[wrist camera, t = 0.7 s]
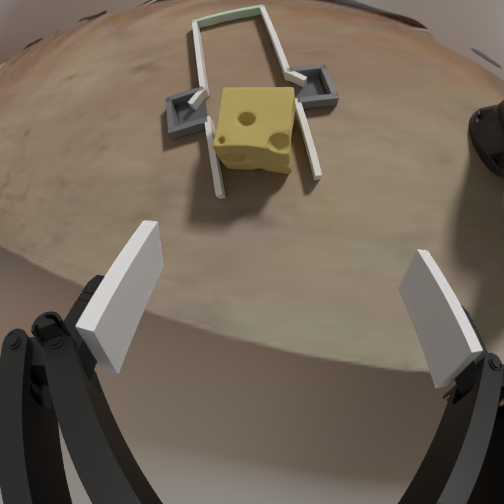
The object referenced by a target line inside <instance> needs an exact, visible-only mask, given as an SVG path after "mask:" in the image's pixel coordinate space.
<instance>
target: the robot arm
mask: <svg viewBox="0 0 504 504" xmlns="http://www.w3.org/2000/svg"><path fill="white" fill-rule="evenodd" d="M470 133H471V137H472V140H473V143H474V146H475V148H476V150H477V152H478V154H479V156H480V157H481V159H482V160H483V162H484V163H485V164H486V165H487V167H488V168H489V169H490V170H491V171H493V172H494V173H495V174H497V175H499V176H502V177H504V100H503V101H502V102H501V103H500V104H498V105H493V106H488V107H483V108H480V109H478V110H477V111H476V112H475V113H474V114H473V115H472V116H471V119H470ZM163 267H164V265H163V258H162V251H161V244H160V236H159V228H158V222H156V221H143V222H142V223H141V225H140V226H139V227H138V229H137V230H136V231H135V233H134V234H133V236H132V237H131V238H130V240H129V241H128V243H127V244H126V246H125V247H124V248H123V250H122V251H121V253H120V254H119V256H118V257H117V259H116V260H115V262H114V263H113V265H112V266H111V268H110V269H109V271H108V272H107V274H106V276H101V275H96V276H95V277H94V278H93V279H91V280H90V281H89V282H88V283H87V285H86V286H85V288H84V289H83V291H82V293H81V294H80V296H79V297H78V300H77V301H76V302H75V303H74V305H73V307H72V308H71V310H70V312H69V314H68V315H67V317H66V318H65V320H64V322H63V320H62V318H61V316H60V315H59V314H58V313H56V312H45V313H43V314H42V315H40V316H39V317H38V318H37V319H36V320H35V321H34V323H33V325H32V330H31V332H32V334H33V335H34V337H28V335H27V334H26V332H25V331H24V330H22V329H14V330H12V331H11V332H9V333H8V334H7V336H6V337H5V339H4V341H3V345H2V351H1V357H0V488H1V493H2V499H3V503H4V504H72V501H71V497H70V493H69V488H68V484H67V480H66V475H65V470H64V464H63V458H62V452H61V445H60V438H59V428H58V422H59V425H60V429H61V432H62V434H63V438H64V440H65V443H66V446H67V449H68V451H69V454H70V456H71V459H72V461H73V464H74V466H75V469H76V471H77V473H78V475H79V478H80V480H81V482H82V484H83V486H84V488H85V490H86V492H87V494H88V496H89V498H90V500H91V502H92V504H163V503H162V502H161V500H160V499H159V498H158V496H157V494H156V493H155V491H154V490H153V489H152V487H151V485H150V484H149V482H148V481H147V479H146V477H145V476H144V474H143V472H142V471H141V469H140V467H139V466H138V464H137V462H136V460H135V459H134V457H133V455H132V453H131V451H130V449H129V447H128V446H127V444H126V442H125V440H124V438H123V436H122V434H121V432H120V430H119V428H118V425H117V423H116V421H115V419H114V417H113V414H112V412H111V410H110V407H109V405H108V403H107V400H106V398H105V395H104V393H103V390H102V388H101V385H100V382H99V380H98V377H97V374H96V372H95V370H94V368H95V366H96V363H98V364H99V366H100V367H101V369H102V370H105V371H108V372H112V373H115V374H119V371H120V369H121V366H122V363H123V361H124V358H125V356H126V353H127V350H128V348H129V345H130V343H131V340H132V337H133V335H134V333H135V330H136V328H137V326H138V323H139V320H140V319H141V316H142V314H143V311H144V309H145V307H146V305H147V302H148V300H149V298H150V295H151V293H152V291H153V289H154V287H155V284H156V282H157V280H158V278H159V276H160V274H161V271H162V269H163ZM398 289H399V291H400V293H401V296H402V298H403V300H404V303H405V305H406V307H407V310H408V312H409V315H410V317H411V320H412V322H413V325H414V327H415V330H416V333H417V335H418V338H419V341H420V343H421V346H422V349H423V352H424V355H425V358H426V361H427V364H428V367H429V370H430V373H431V376H432V379H433V383H434V386H435V389H437V388H443V387H447V386H448V385H449V384H450V383H451V382H453V381H454V380H455V381H456V385H455V386H454V387H453V388H452V389H451V390H449V391H448V392H447V393H446V394H445V395H444V397H443V398H444V399H445V398H446V397H447V396H448V395H449V394H450V397H449V398H448V399H447V401H448V403H447V406H446V409H445V411H444V414H443V417H442V419H441V422H440V424H439V427H438V429H437V432H436V434H435V436H434V438H433V441H432V443H431V445H430V448H429V449H428V451H427V454H426V456H425V458H424V460H423V461H422V463H421V465H420V467H419V469H418V471H417V473H416V475H415V477H414V478H413V480H412V482H411V483H410V485H409V487H408V489H407V490H406V492H405V493H404V495H403V497H402V498H401V500H400V501H399V503H398V504H504V405H503V406H501V401H502V400H503V399H504V364H502V362H501V360H500V359H499V357H498V356H497V355H495V354H493V353H488V352H487V350H486V348H485V345H484V343H483V341H482V339H481V337H480V335H479V333H478V331H477V329H476V327H475V325H474V323H473V321H472V319H471V317H470V315H469V313H468V312H467V311H466V309H465V308H464V307H463V306H462V305H460V303H459V301H458V299H457V297H456V296H455V294H454V292H453V290H452V289H451V287H450V285H449V284H448V282H447V280H446V279H445V277H444V275H443V274H442V272H441V271H440V269H439V267H438V266H437V264H436V263H435V261H434V260H433V258H432V256H431V255H430V253H429V252H428V250H420V249H417V250H416V252H415V254H414V256H413V258H412V261H411V263H410V265H409V267H408V269H407V271H406V273H405V275H404V277H403V279H402V281H401V283H400V285H399V287H398Z"/></svg>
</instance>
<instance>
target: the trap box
mask: <svg viewBox="0 0 504 504" xmlns="http://www.w3.org/2000/svg"><path fill="white" fill-rule="evenodd" d="M257 15H261V16H262V18H263V21H264V23H265V26H266V28H267V31H268V33H269V36H270V39H271V41H272V44H273V47H274V49H275V52H276V55H277V58H278V60H279V63H280V66H281V69H282V72H283V75H284V78H285V80H287V81H290V82H291V83H292V86H293V88H294V92H295V95H296V98H295V112H296V116H297V119H298V123H299V126H300V130H301V133H302V137H303V140H304V144H305V148H306V151H307V155H308V159H309V163H310V167H311V171H312V175H313V179H314V181H315V180H320V179H321V176H322V173H321V169H320V165H319V161H318V157H317V154H316V150H315V147H314V143H313V139H312V136H311V133H310V129H309V126H308V123H307V119H306V116H305V113H304V110H303V109H310V108H318V107H326V106H335V105H337V103H338V99H339V97H338V94H337V92H336V89H335V87H334V85H333V82H332V80H331V77H330V75H329V73H328V70H327V68H326V66H325V64H319V65H308V66H300V67H292V68H289V66H288V63H287V60H286V58H285V55H284V52H283V50H282V47H281V45H280V42H279V40H278V37H277V35H276V32H275V30H274V27H273V25H272V23H271V20H270V18H269V16H268V14H267V11H266V9H265V7H264V5H258V6H251V7H246V8H241V9H235V10H231V11H226V12H222V13H218V14H214V15H210V16H206V17H202V18H199V19H195V20H192V26H193V35H194V44H195V52H196V61H197V69H198V77H199V85H200V87H198V88H194V89H191V90H188V91H185V92H182V93H178V94H175V95H172V96H170V97H167V98H166V109H167V124H168V134H169V135H170V136H171V137H172V138H173V139H175V138H179V137H182V136H185V135H189V134H192V133H195V132H199V131H203V130H206V136H207V142H208V149H209V156H210V162H211V169H212V175H213V182H214V188H215V194H216V197H218V198H219V199H224V198H226V196H225V190H224V184H223V178H222V172H221V166H220V160H219V156H218V155H217V153H216V152H215V150H214V148H213V140H214V136H215V129H214V123H213V121H212V119H211V117H210V116H208V117H207V111H206V104H205V100H206V99H207V97H209V90H208V84H207V77H206V70H205V63H204V57H203V50H202V43H201V35H200V28H203V27H206V26H210V25H214V24H218V23H222V22H226V21H231V20H235V19H240V18H245V17H251V16H257ZM318 76H320V78H321V80H322V83H323V85H324V88H325V90H326V93H327V94H325V93H324V90H323V87H322V85H321V82H320V80H319V77H318ZM176 106H178V115H179V125H178V123H177V112H176Z"/></svg>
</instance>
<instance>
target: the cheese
mask: <svg viewBox="0 0 504 504" xmlns="http://www.w3.org/2000/svg"><path fill="white" fill-rule="evenodd" d="M294 116H295V94H294V88H293V87H274V88H223V90H222V94H221V100H220V108H219V116H218V122H217V127H216V132H215V136H214V140H213V148H214V150H215V152H216V153H217V155H218V156H219V158H220V160H221V161H222V163H223V164H224V165H225V166H226V167H227V168H228V169H243V170H253V169H257V168H261V169H265V170H267V171H270V172H278V173H284V174H290V172H291V166H292V165H291V151H290V150H291V136H292V128H293V123H294Z"/></svg>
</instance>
